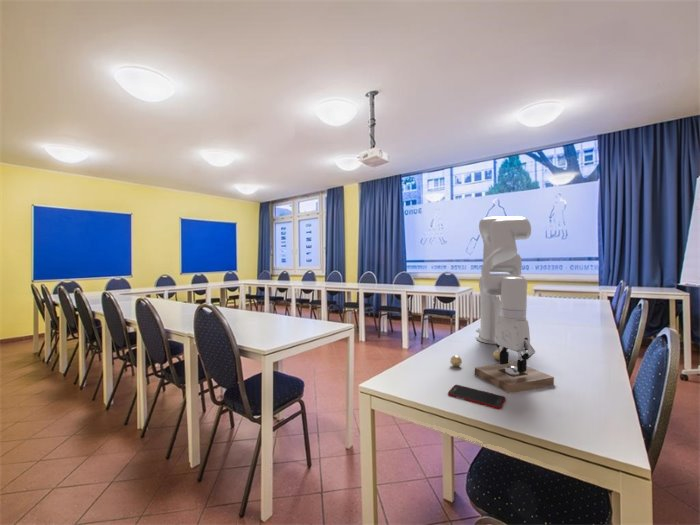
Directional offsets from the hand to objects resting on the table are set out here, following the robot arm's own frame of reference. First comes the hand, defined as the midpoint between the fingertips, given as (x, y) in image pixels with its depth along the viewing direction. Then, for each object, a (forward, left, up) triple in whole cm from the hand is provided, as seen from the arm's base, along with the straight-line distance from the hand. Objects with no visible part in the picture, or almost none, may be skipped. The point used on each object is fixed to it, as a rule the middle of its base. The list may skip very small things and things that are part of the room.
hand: (512, 367), depth 102 cm
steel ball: (0, 0, -2) cm, 2 cm away
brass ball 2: (-16, +10, -2) cm, 19 cm away
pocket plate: (0, 0, -4) cm, 4 cm away
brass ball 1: (-16, -10, -2) cm, 19 cm away
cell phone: (+6, -20, -5) cm, 21 cm away
